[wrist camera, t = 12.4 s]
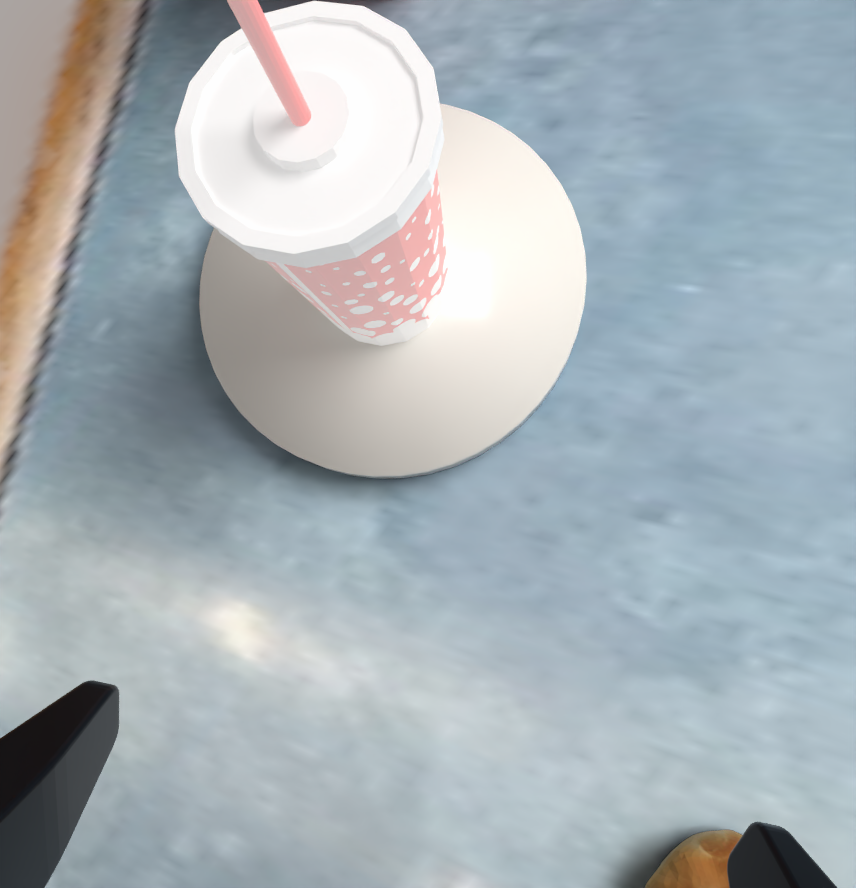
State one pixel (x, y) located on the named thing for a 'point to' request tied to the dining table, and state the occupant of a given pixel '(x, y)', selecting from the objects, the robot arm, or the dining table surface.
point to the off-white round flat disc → (431, 351)
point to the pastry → (697, 862)
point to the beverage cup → (324, 161)
